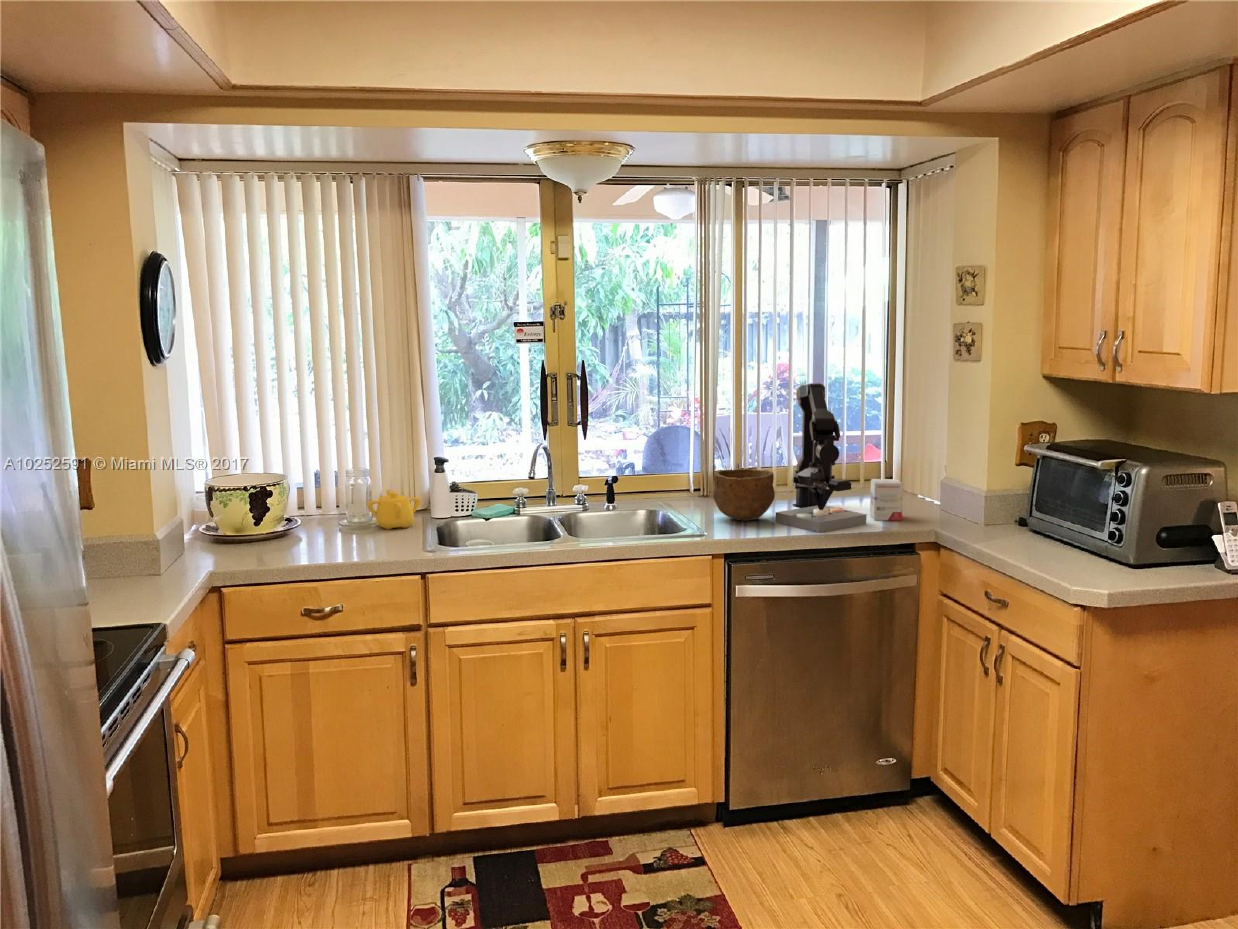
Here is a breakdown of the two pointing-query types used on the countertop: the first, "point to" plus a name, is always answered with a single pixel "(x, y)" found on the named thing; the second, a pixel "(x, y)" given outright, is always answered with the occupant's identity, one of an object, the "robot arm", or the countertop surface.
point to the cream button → (820, 512)
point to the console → (820, 519)
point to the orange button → (837, 510)
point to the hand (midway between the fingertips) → (820, 509)
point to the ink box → (886, 499)
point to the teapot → (394, 510)
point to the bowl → (743, 492)
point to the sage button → (804, 515)
